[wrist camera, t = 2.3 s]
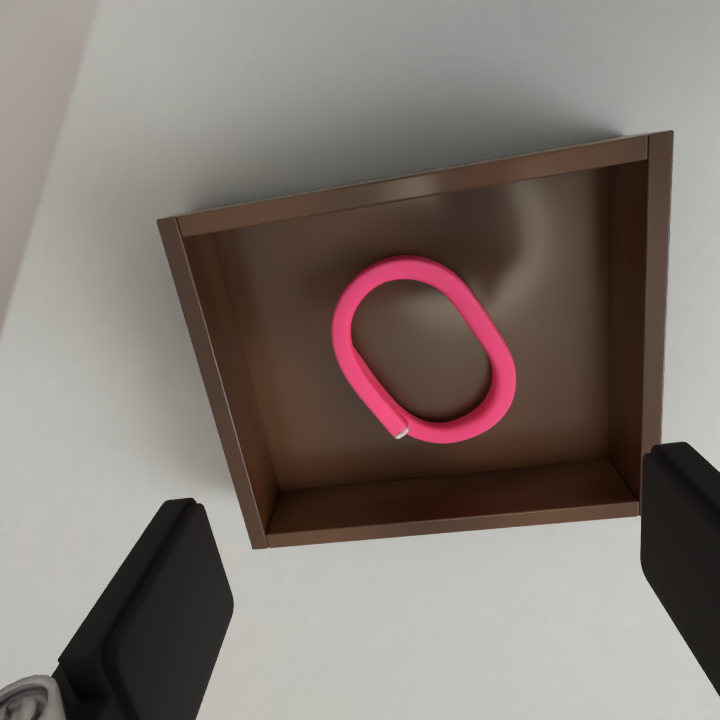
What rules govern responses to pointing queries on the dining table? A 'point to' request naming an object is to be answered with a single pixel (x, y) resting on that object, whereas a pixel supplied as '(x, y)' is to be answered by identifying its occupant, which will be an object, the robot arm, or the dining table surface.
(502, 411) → the fitness band
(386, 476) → the walnut tray
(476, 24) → the dining table surface
